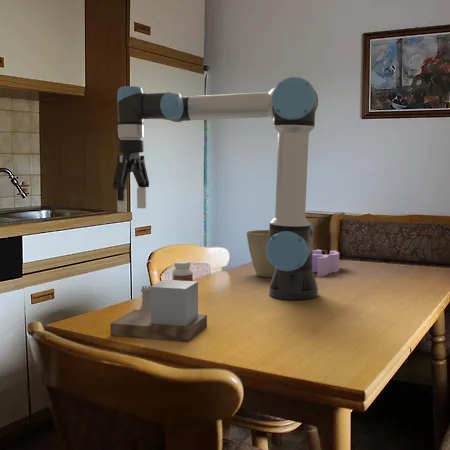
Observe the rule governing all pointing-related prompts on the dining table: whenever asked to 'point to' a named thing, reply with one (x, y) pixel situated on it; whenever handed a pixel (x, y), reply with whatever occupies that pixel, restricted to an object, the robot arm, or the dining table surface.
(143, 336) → the socket board
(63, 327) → the dining table surface
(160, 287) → the block
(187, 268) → the pill bottle
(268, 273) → the plant pot
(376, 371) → the dining table surface
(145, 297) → the rook chess piece
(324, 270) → the clip
